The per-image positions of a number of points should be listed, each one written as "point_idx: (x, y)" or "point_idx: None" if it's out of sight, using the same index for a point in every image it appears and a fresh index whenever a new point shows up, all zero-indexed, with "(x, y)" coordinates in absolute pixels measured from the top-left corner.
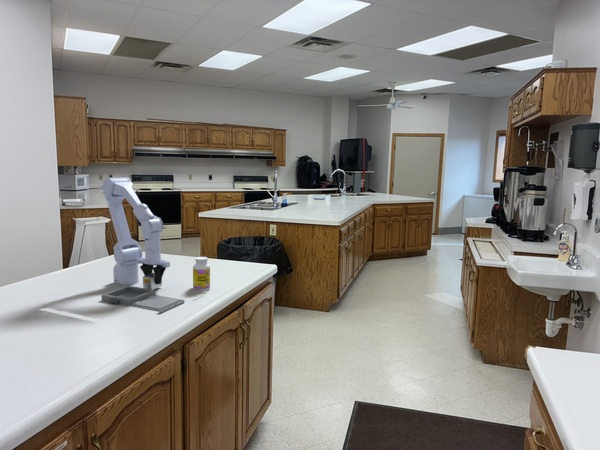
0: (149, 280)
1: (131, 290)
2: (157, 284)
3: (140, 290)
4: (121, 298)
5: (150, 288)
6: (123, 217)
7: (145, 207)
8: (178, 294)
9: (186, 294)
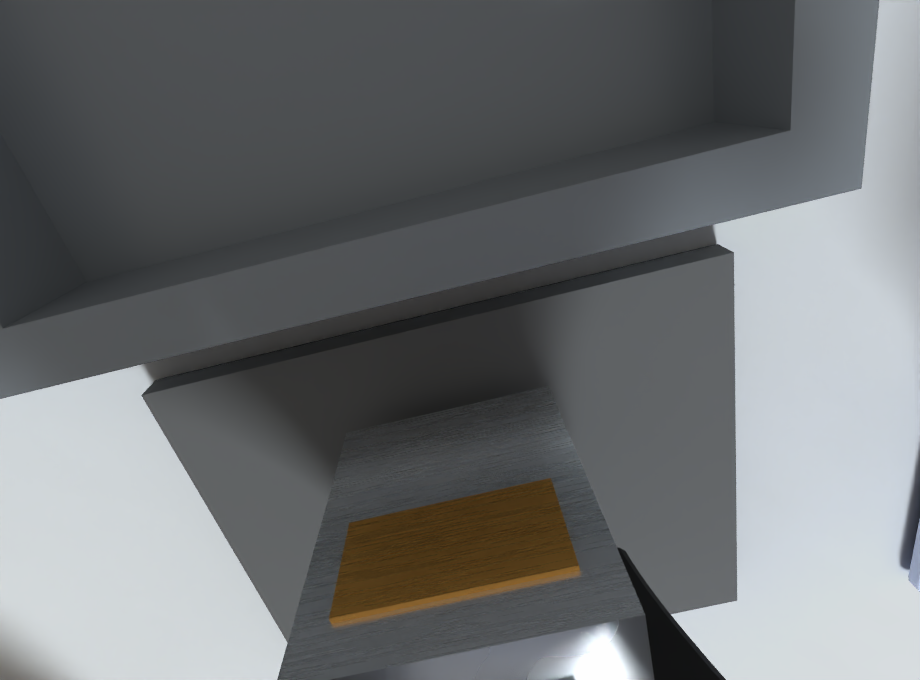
0: (347, 591)
1: (650, 144)
2: None
3: (367, 224)
4: None
5: (366, 449)
6: None
7: None
8: (80, 609)
9: (17, 661)
